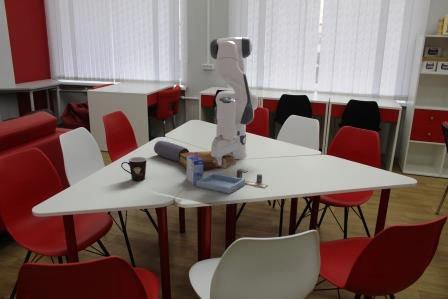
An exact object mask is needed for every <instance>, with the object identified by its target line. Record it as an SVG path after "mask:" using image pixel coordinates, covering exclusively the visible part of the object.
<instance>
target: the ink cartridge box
mask: <svg viewBox="0 0 448 299" xmlns="http://www.w3.org/2000/svg"><path fill="white" fill-rule="evenodd" d="M195 152H196V154H197V155H198V156H199V154H198V153H197V152H198V151H195ZM196 154H195V155H194V156H187V169H186V180H187V181H188V182H190V184H192V185H194V186H195V185H196V181H197V180H199V179H202V178H204V170H203V160H202V159H201V158H199V157H198V156H196Z"/></svg>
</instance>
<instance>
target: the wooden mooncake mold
mask: <svg viewBox="0 0 448 299" xmlns="http://www.w3.org/2000/svg"><path fill="white" fill-rule="evenodd" d="M221 160H222V161H223V165H221V166H220V165H218V161H217V159H216V158H215V161H213V164H216V166H218V167H222V168H223V169H226V168H229V166H230V167H232V166H234V165H235V166H236V159H235V156H231V155H223V156H222V158H221ZM222 168H221V169H222Z"/></svg>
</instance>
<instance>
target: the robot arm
mask: <svg viewBox="0 0 448 299" xmlns="http://www.w3.org/2000/svg"><path fill="white" fill-rule="evenodd" d="M252 50H253V44H252V42H251V39H250V38H249V37H247V36H230V37H223V38H216V39H215V38H214V39H212V40H211V41H210V44H209V53H210V54H209V55H210V56H211V58H213V59H214V60H216V74H217V75H218V76H219V78H220V79H222V80H223V81H224V82H225V83H226V84H227V85H228V86H229V87H231V88H232V90H224V91H219V92H218V93H217V95H216V96H215V103H216V106H215V107H214V108H213V109H214V118H213V119H214V120H215V122H217V124H216V127H215V128H216V135H215V136H214V138H213V140H212V142H211V149H210V151H211V156H212V157H216V159H217V161H218V165H220V166H221V165H223V161H222V160H221V158H222V156H223V155H231V156H235V160H239V159H240V160H241V159H245V158H247V156H248V155H247V154H248V153H247V148H246V146H247V145H246V143H247V133H246V131H247V130H246V129H247V127H246V126H247V125H249V124H251V123H252V122H253V121H254V118H255V110H256V109H257V108H258V107H259V97H258V95H257V94H256V93H255V92H254V91H252V90H251V88H250V87H249V82H248V78H247V75H246V73H245V60H244V59H246V58H249V56H250V55H251V53H252Z"/></svg>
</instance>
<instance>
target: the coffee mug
mask: <svg viewBox="0 0 448 299" xmlns="http://www.w3.org/2000/svg"><path fill="white" fill-rule="evenodd" d="M147 160H148V159H147V158H146V157H143V156H134V157H130V158H129V159H128V162H127V161H123V162H122V163H121V166H120V167H121V168H122V169H123V170H124V171H125V172H126V173H127V174H129V175H131V176H130V177H131V180H132V181H136V182H139V181H144V180H145V179H146V172H147V171H146V170H147ZM124 164H127V165H128V167H129V170H130V171H128V169H125V168H124V167H123V165H124Z"/></svg>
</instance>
